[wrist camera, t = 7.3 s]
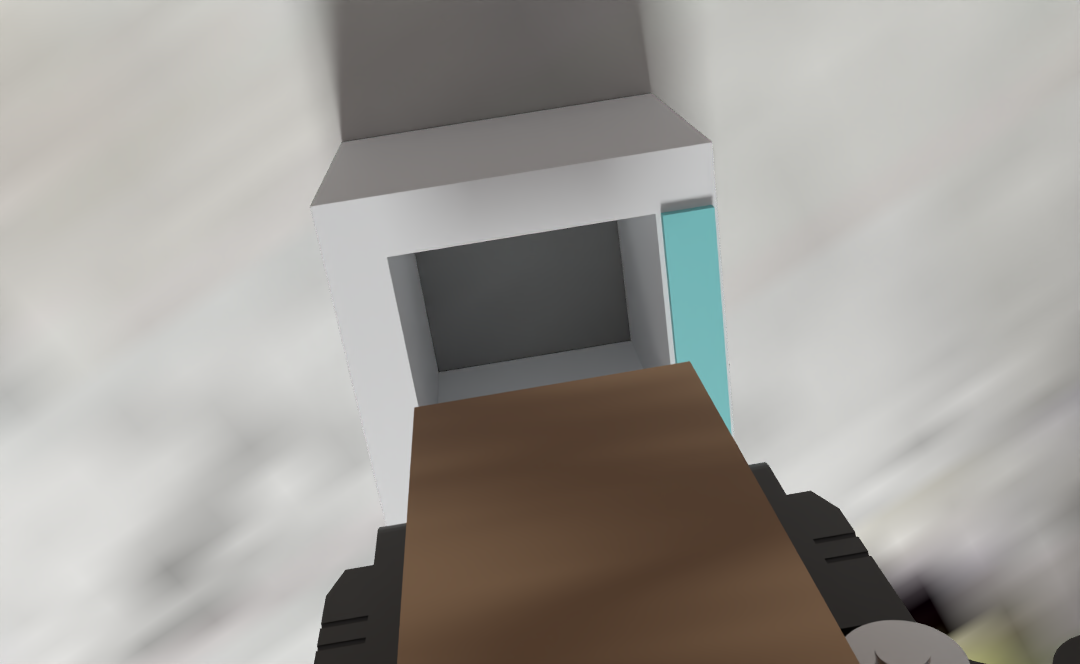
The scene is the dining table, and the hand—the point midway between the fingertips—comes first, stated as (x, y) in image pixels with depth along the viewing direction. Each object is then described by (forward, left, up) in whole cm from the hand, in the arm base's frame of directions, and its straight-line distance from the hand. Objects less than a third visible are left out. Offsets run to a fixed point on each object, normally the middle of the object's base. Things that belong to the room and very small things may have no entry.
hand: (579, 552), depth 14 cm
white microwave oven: (0, 0, -13) cm, 13 cm away
